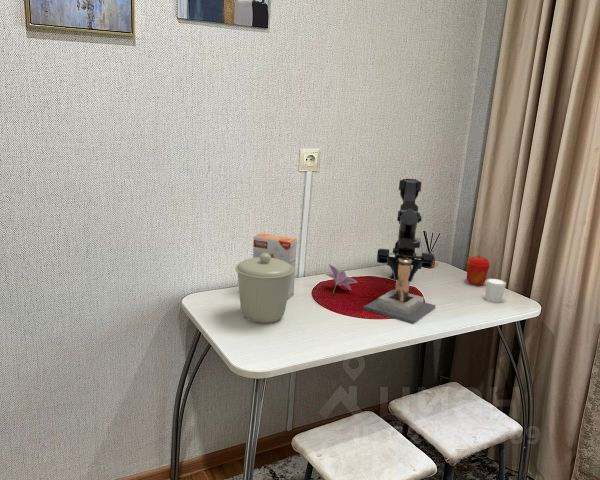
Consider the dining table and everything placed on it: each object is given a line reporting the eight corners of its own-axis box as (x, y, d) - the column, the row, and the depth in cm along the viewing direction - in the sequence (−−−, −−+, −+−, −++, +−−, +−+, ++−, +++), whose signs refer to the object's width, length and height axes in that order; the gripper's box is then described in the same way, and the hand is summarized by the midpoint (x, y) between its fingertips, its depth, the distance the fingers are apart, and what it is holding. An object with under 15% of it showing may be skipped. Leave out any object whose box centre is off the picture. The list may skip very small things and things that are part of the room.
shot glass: (500, 297, 212) (503, 279, 210) (505, 303, 205) (508, 285, 203) (481, 295, 212) (484, 277, 211) (485, 302, 206) (488, 283, 204)
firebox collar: (363, 309, 193) (364, 298, 192) (388, 295, 207) (389, 284, 206) (413, 323, 183) (414, 312, 182) (435, 308, 197) (436, 297, 196)
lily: (357, 300, 204) (364, 274, 206) (330, 290, 199) (338, 263, 201) (339, 298, 214) (346, 274, 216) (313, 289, 209) (320, 264, 211)
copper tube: (391, 297, 195) (395, 257, 192) (403, 295, 197) (407, 256, 193) (398, 301, 191) (403, 261, 188) (410, 300, 193) (414, 261, 189)
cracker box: (250, 293, 201) (252, 235, 196) (258, 288, 207) (260, 231, 201) (287, 300, 196) (290, 241, 191) (294, 295, 202) (297, 237, 196)
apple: (468, 278, 231) (472, 250, 228) (489, 283, 226) (493, 254, 223) (461, 283, 224) (464, 254, 221) (482, 288, 219) (486, 259, 216)
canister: (271, 334, 170) (274, 266, 164) (222, 319, 178) (223, 254, 173) (301, 314, 185) (305, 252, 180) (254, 302, 194) (256, 241, 188)
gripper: (380, 225, 193) (375, 266, 186) (436, 230, 190) (434, 272, 183) (379, 241, 203) (374, 281, 195) (433, 247, 200) (430, 287, 192)
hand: (403, 280), depth 191 cm, fingers closed on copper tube, 4 cm apart
